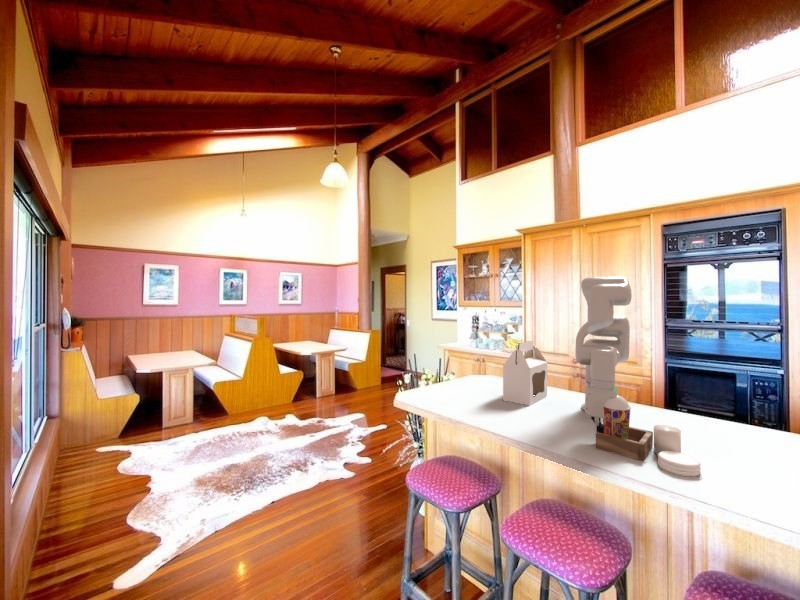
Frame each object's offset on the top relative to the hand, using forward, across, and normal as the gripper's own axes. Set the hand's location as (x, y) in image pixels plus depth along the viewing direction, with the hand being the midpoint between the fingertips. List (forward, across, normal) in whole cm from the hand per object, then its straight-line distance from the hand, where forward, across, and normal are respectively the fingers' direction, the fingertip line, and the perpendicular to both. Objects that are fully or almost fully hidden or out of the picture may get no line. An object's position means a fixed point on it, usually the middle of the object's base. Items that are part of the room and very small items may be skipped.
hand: (601, 437), depth 127 cm
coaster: (+2, +22, -5) cm, 23 cm away
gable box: (+1, -43, +34) cm, 55 cm away
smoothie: (+2, +4, 0) cm, 5 cm away
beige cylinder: (+2, +18, +5) cm, 19 cm away
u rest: (+2, +6, +1) cm, 6 cm away
